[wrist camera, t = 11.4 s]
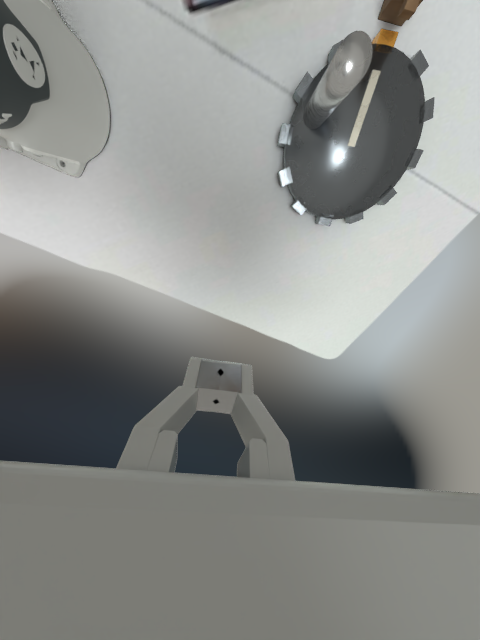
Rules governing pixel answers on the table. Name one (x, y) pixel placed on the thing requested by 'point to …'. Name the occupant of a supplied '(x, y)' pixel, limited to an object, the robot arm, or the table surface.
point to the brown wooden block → (398, 10)
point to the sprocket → (354, 128)
